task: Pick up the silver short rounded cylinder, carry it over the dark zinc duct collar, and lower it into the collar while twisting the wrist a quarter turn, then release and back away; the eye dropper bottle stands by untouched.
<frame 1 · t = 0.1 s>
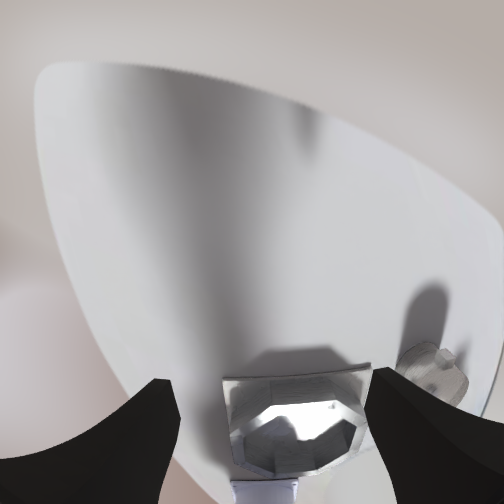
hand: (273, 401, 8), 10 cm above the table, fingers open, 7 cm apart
duct collar: (296, 423, 21), on the table
silver short rounded cylinder: (416, 365, 20), on the table
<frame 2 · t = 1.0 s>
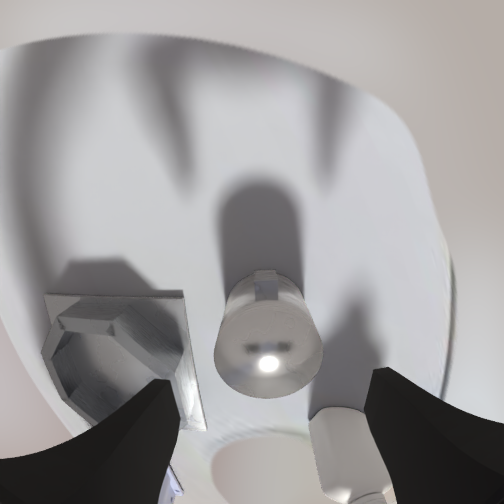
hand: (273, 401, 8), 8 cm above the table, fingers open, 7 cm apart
duct collar: (121, 368, 18), on the table
eye dropper bottle: (339, 419, 19), on the table
silver short rounded cylinder: (265, 309, 17), on the table
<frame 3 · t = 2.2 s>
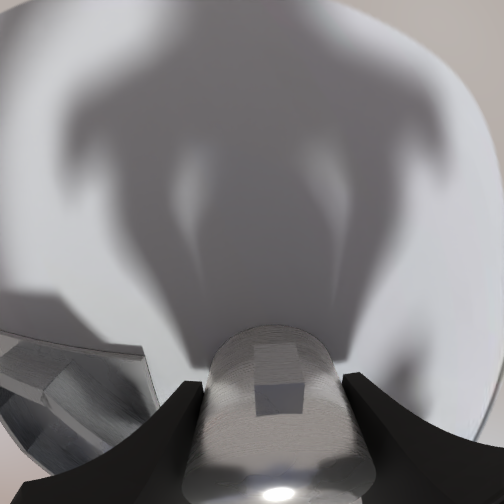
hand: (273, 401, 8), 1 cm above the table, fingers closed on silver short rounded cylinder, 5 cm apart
duct collar: (82, 426, 11), on the table
silver short rounded cylinder: (271, 377, 10), on the table, touching gripper
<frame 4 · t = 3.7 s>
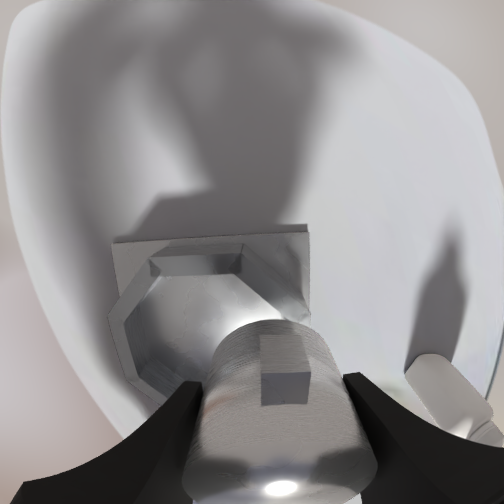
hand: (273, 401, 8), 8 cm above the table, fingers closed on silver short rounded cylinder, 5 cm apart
duct collar: (213, 330, 17), on the table
eye dropper bottle: (427, 369, 18), on the table
silver short rounded cylinder: (272, 372, 10), point 7 cm above the table, touching gripper
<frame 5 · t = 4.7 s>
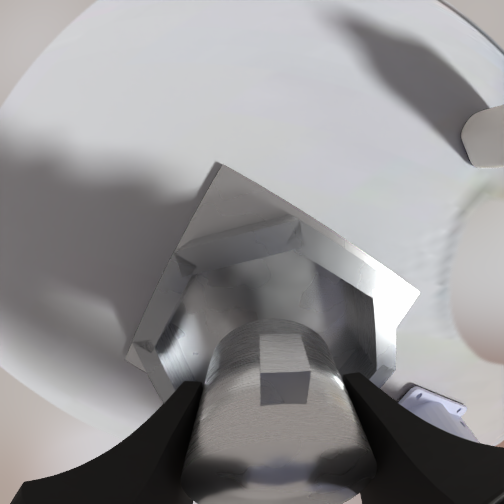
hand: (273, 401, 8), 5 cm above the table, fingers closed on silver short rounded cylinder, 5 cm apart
duct collar: (268, 333, 14), on the table
eye dropper bottle: (482, 138, 11), on the table
silver short rounded cylinder: (271, 372, 10), point 4 cm above the table, touching gripper
when the fingers open (3 cm above the table, at t = 5.5 s): silver short rounded cylinder drops 1 cm, resting on duct collar.
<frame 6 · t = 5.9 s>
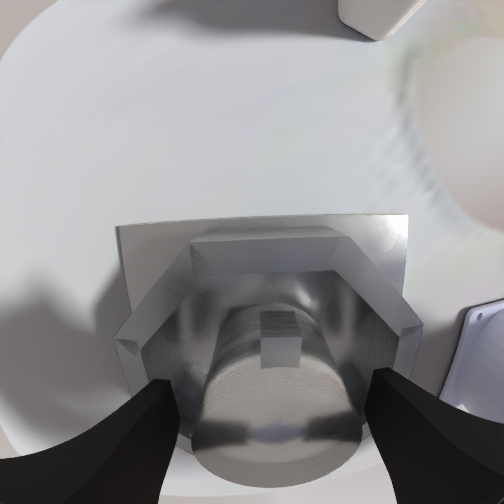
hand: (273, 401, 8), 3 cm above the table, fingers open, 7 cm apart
duct collar: (269, 351, 12), on the table
eye dropper bottle: (370, 8, 8), on the table
silver short rounded cylinder: (270, 353, 11), resting on duct collar
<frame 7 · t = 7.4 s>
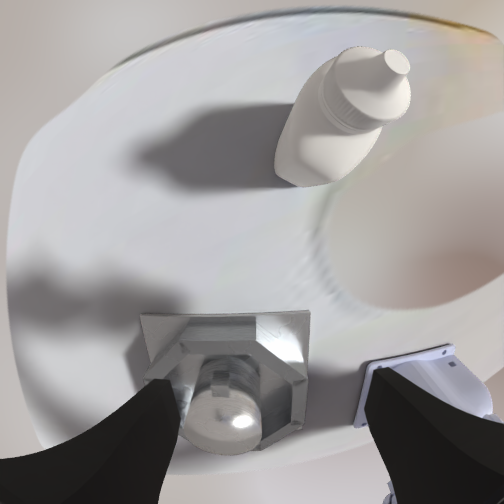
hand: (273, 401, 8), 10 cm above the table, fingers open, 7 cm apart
duct collar: (228, 381, 20), on the table
eye dropper bottle: (306, 144, 16), on the table
silver short rounded cylinder: (228, 383, 19), resting on duct collar
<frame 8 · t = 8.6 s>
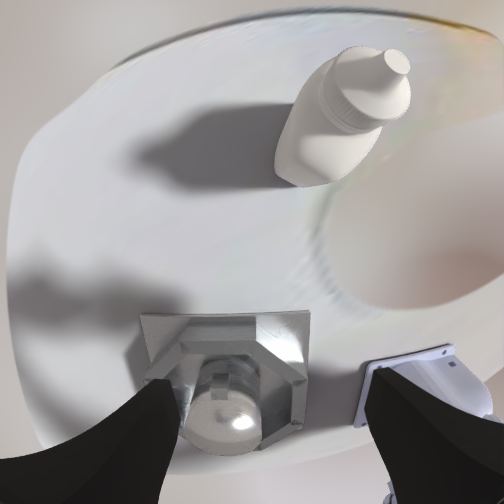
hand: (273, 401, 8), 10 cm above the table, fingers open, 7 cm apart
duct collar: (228, 381, 20), on the table
eye dropper bottle: (306, 144, 16), on the table
silver short rounded cylinder: (228, 383, 19), resting on duct collar
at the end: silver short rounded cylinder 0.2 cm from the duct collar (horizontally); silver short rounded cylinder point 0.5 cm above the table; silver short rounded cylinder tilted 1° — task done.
